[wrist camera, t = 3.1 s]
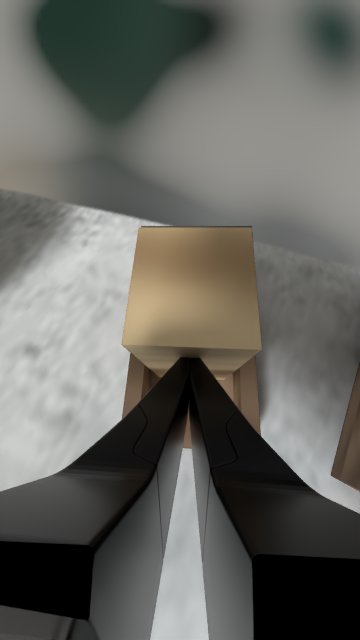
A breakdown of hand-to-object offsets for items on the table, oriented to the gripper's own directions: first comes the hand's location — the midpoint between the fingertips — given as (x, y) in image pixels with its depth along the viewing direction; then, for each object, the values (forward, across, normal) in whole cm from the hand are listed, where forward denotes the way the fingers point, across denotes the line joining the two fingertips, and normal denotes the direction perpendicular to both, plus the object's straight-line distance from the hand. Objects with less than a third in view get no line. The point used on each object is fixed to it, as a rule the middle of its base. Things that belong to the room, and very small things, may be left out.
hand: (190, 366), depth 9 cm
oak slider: (+7, 0, +3) cm, 8 cm away
